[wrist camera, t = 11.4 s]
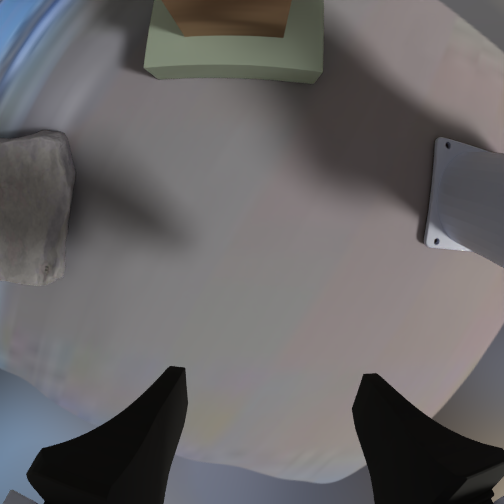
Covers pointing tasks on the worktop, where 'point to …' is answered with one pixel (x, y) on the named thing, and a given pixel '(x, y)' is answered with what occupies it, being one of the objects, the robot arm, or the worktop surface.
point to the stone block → (35, 207)
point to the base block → (239, 49)
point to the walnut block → (230, 17)
